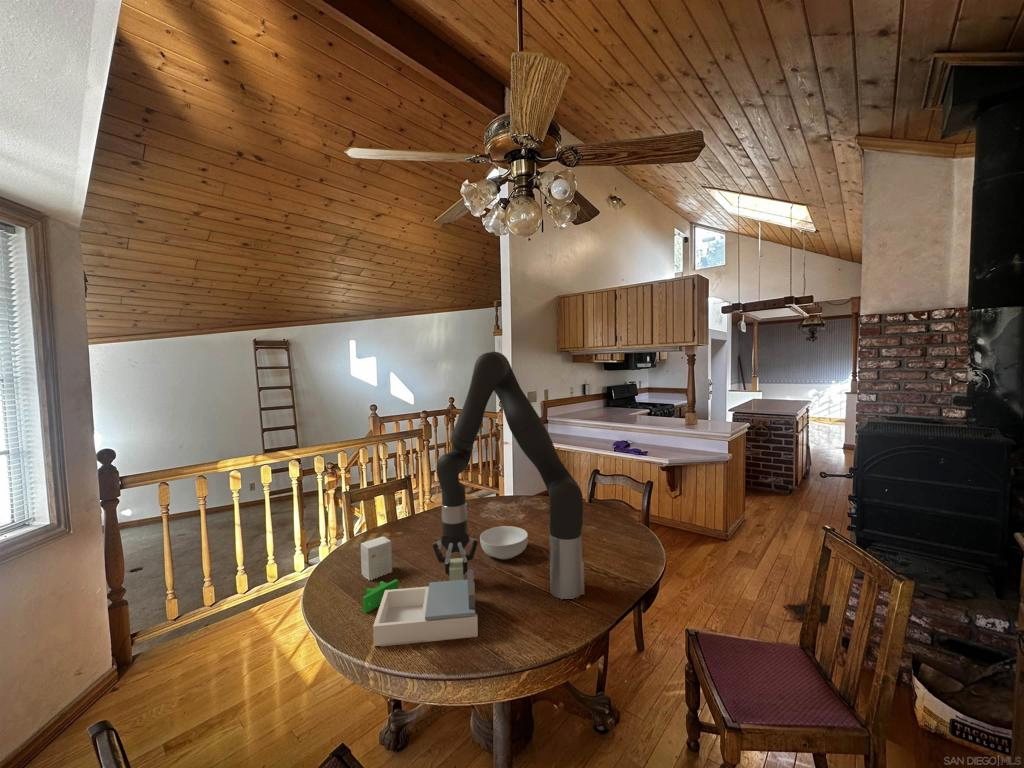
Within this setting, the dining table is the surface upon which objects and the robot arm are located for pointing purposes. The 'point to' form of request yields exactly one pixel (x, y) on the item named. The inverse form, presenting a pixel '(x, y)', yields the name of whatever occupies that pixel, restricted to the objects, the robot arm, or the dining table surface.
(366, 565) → the small box
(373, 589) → the pipe clamp
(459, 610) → the lid
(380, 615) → the housing
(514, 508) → the dining table surface
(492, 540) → the cereal bowl
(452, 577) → the pale green block
